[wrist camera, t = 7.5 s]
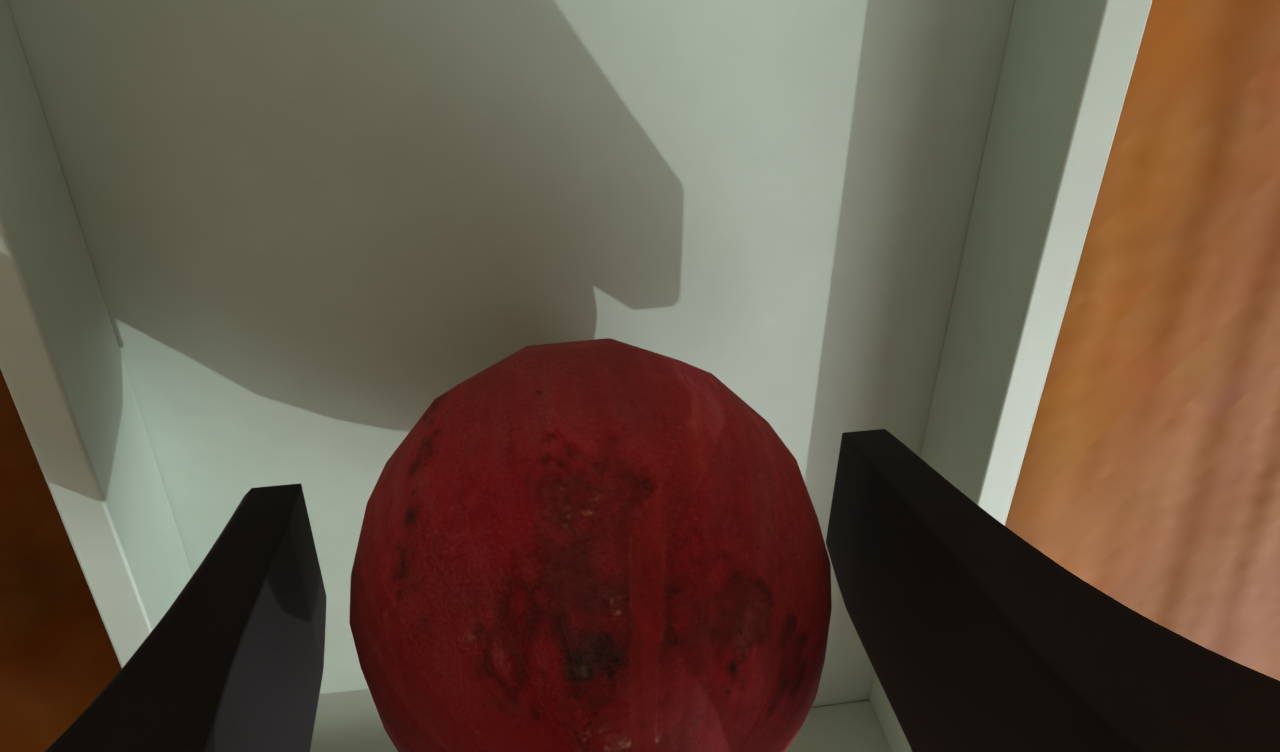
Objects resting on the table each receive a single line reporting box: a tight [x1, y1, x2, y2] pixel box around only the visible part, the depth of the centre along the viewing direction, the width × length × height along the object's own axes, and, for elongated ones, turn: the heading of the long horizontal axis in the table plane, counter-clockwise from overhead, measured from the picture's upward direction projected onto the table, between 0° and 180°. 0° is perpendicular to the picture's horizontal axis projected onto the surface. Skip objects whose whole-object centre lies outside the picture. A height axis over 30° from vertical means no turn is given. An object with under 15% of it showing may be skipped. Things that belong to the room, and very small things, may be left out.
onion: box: [349, 338, 832, 752], centre depth 13 cm, size 6×6×8 cm
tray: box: [0, 0, 1152, 752], centre depth 15 cm, size 17×13×3 cm
